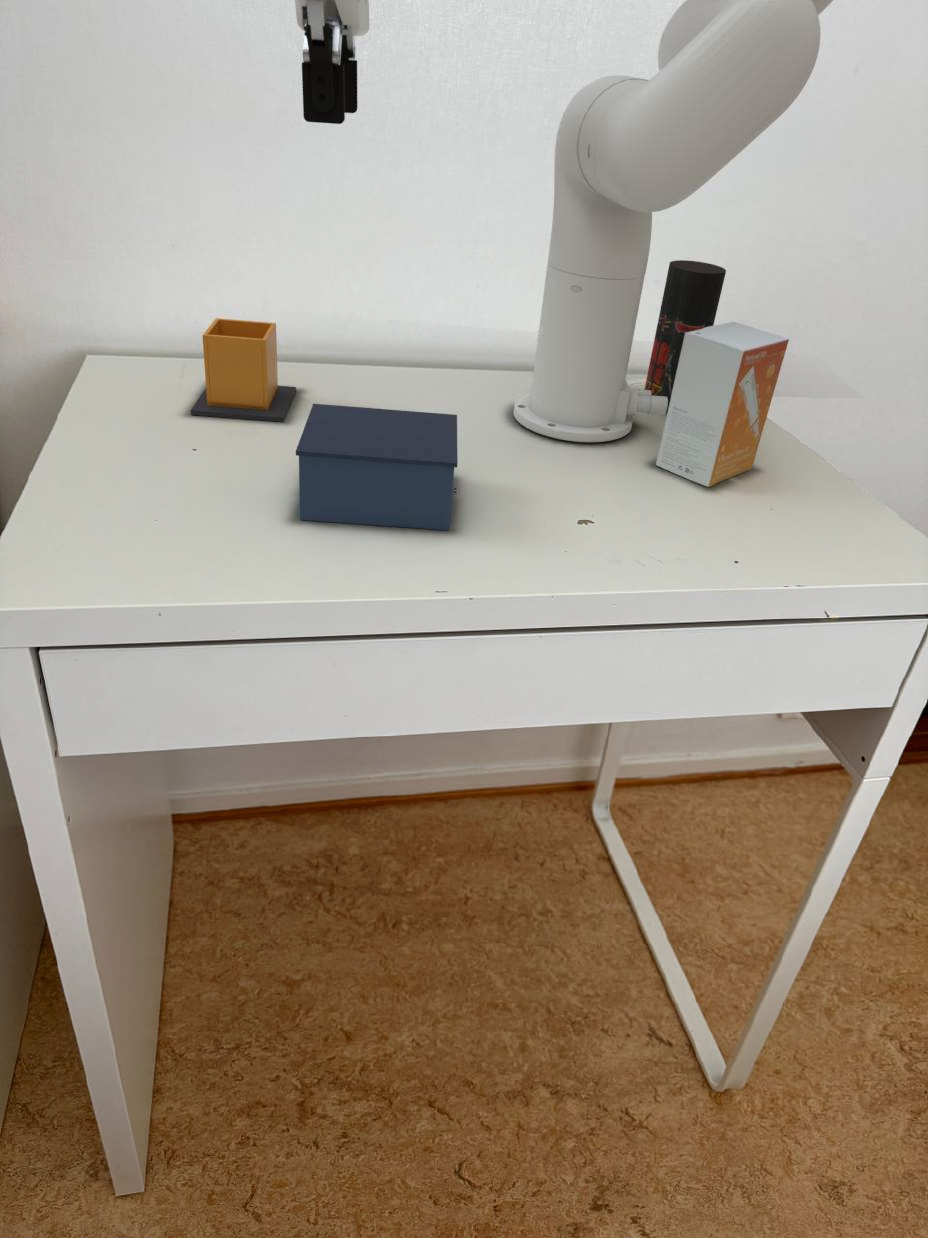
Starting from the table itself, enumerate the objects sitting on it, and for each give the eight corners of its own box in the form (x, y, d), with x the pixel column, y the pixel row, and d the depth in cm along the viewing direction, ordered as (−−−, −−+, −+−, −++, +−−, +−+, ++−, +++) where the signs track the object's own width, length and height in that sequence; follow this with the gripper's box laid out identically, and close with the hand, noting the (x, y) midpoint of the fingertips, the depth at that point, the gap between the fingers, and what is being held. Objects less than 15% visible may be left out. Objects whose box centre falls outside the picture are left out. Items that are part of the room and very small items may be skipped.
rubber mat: (296, 391, 97) (296, 386, 97) (283, 422, 90) (283, 417, 90) (211, 384, 97) (210, 379, 97) (190, 414, 89) (190, 410, 89)
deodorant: (655, 391, 108) (683, 257, 100) (702, 404, 105) (734, 268, 97) (633, 402, 103) (660, 264, 95) (681, 417, 101) (713, 276, 93)
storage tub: (451, 478, 82) (457, 414, 79) (451, 532, 73) (457, 462, 70) (313, 467, 82) (313, 403, 78) (296, 520, 73) (295, 450, 70)
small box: (708, 489, 85) (744, 350, 78) (653, 465, 89) (682, 330, 81) (754, 469, 90) (791, 337, 83) (700, 448, 94) (731, 319, 86)
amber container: (277, 390, 96) (276, 322, 92) (268, 410, 91) (265, 340, 87) (220, 385, 95) (216, 317, 92) (207, 405, 90) (202, 334, 87)
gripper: (367, -163, 60) (367, 130, 69) (387, -128, 74) (384, 111, 84) (252, -172, 60) (268, 123, 69) (295, -135, 74) (303, 105, 84)
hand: (332, 116), depth 77 cm, fingers open, 9 cm apart
